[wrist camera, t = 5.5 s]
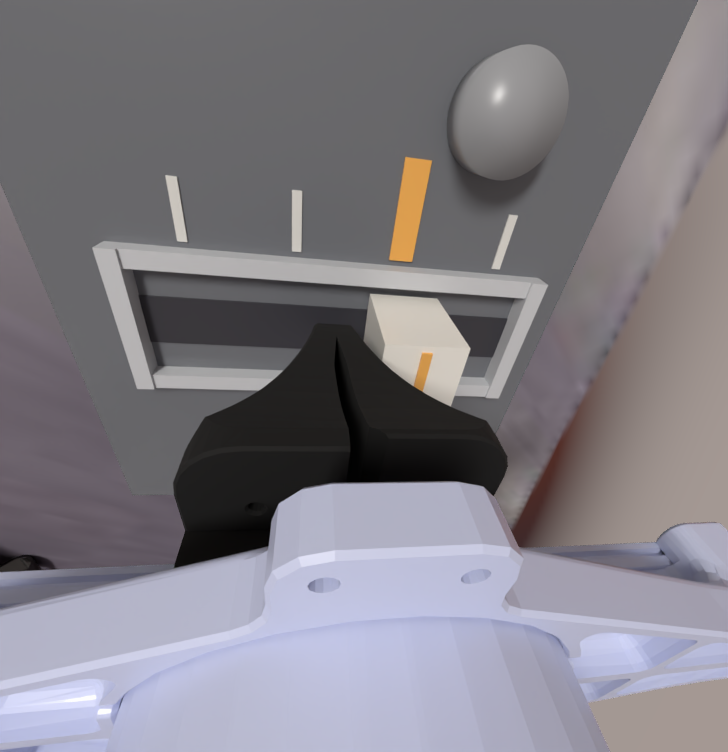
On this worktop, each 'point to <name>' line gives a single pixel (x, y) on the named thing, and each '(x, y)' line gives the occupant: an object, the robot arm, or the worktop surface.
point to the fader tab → (417, 343)
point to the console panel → (307, 181)
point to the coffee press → (20, 564)
